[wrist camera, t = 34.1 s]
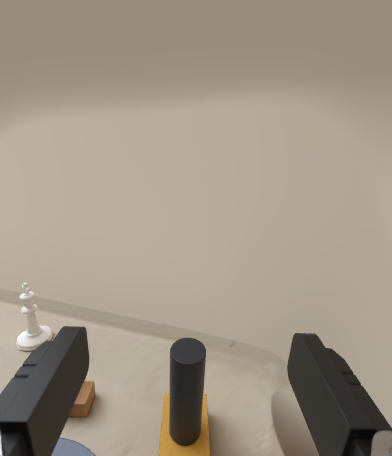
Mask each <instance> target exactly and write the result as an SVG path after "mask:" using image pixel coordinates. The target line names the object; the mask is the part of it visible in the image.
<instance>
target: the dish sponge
mask: <svg viewBox="0 0 392 456" xmlns="http://www.w3.org/2000/svg"><path fill="white" fill-rule="evenodd" d="M205 359H206V349H205V346H204V345H203V344H202V343H201V342H200V341H198V340H196V339H193V338H182V339H179V340H177V341H176V342H175V343H174V344H173V345H172V347H171V349H170V394H165V399H164V409H163V418H162V428H161V438H160V448H159V456H210V445H209V429H208V412H207V395H206V394H203V390H204V374H205Z"/></svg>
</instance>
